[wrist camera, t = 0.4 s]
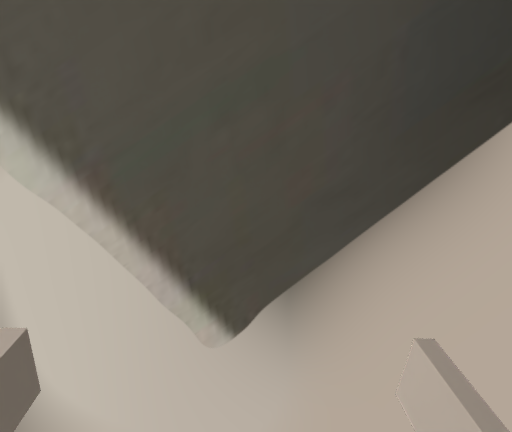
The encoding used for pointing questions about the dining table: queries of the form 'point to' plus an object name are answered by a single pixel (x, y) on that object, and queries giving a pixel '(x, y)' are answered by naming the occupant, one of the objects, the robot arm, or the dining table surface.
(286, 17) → the dining table surface
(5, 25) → the dining table surface
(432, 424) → the robot arm
